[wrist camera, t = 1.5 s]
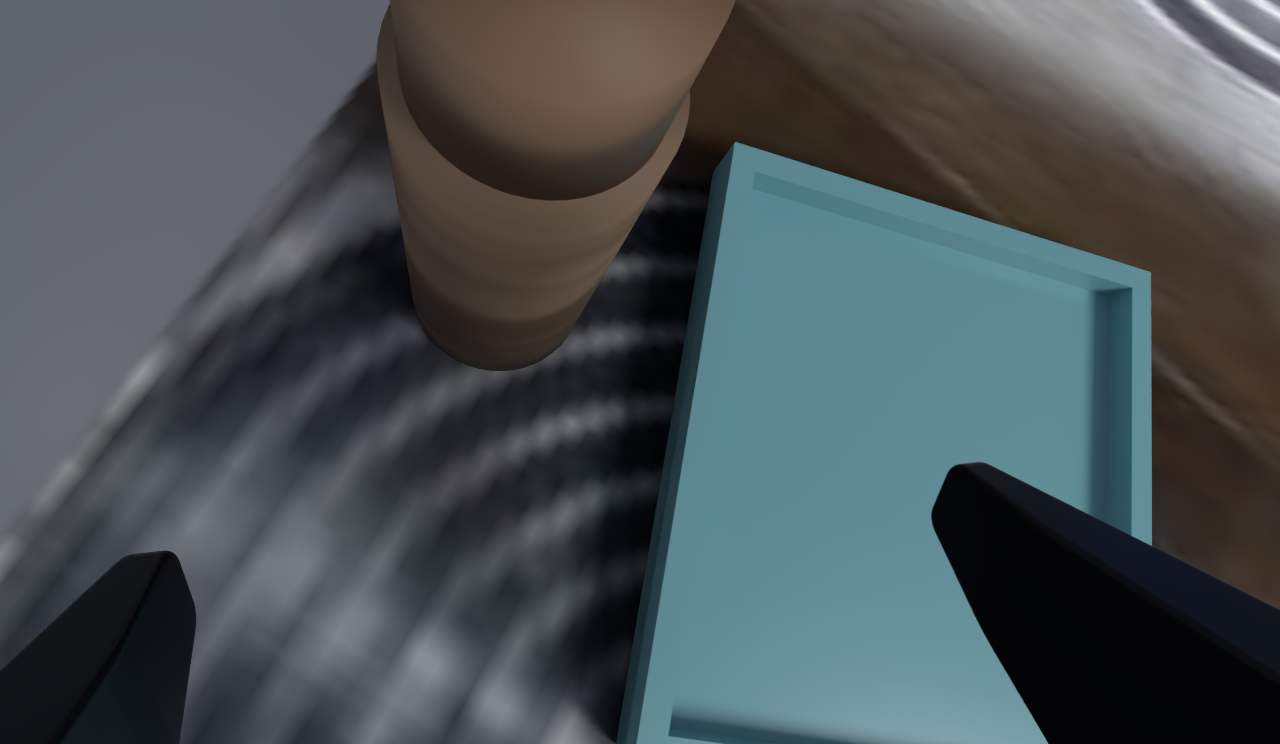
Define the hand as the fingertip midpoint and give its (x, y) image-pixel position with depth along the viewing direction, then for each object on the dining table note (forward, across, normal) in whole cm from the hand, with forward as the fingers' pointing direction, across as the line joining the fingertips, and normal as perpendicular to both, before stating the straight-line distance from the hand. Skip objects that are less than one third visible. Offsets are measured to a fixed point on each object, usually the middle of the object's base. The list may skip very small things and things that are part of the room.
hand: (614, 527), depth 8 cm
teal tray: (+9, -12, +9) cm, 18 cm away
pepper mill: (+14, 0, +4) cm, 15 cm away
